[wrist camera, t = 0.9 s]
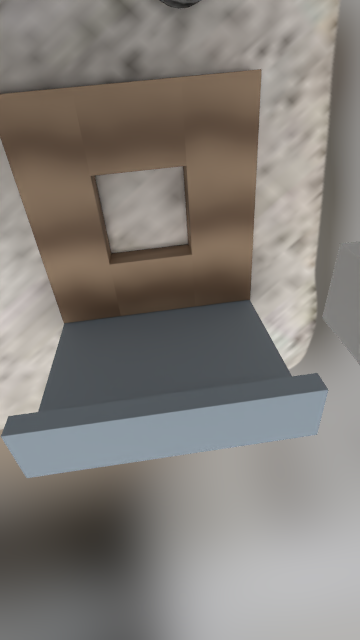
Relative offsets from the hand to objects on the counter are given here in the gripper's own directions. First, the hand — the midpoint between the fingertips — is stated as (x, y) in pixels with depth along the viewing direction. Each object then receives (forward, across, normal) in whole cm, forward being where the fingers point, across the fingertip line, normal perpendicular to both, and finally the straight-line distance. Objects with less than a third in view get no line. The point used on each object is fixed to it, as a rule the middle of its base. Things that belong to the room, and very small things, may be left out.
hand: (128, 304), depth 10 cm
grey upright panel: (+22, +1, -13) cm, 26 cm away
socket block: (+22, +1, -4) cm, 22 cm away
